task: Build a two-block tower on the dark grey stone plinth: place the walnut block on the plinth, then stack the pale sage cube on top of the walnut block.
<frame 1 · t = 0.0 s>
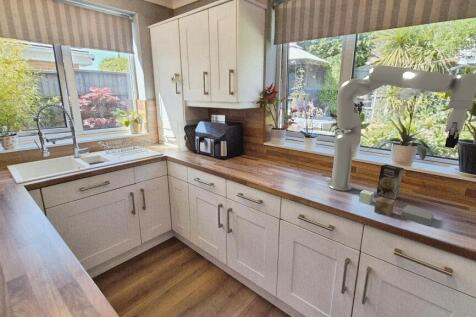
hand: (451, 146, 108), 31 cm above the countertop, fingers open, 9 cm apart
plinth: (416, 217, 111), on the countertop
coffee box: (387, 196, 136), on the countertop
walnut block: (383, 212, 116), on the countertop
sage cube: (365, 201, 127), on the countertop
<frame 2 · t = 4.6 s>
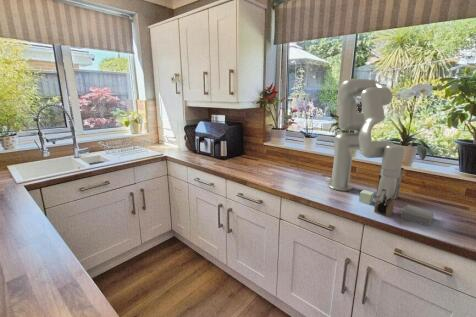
hand: (383, 209, 115), 1 cm above the countertop, fingers closed on walnut block, 6 cm apart
walnut block: (383, 212, 116), on the countertop, touching gripper
everything else where it was.
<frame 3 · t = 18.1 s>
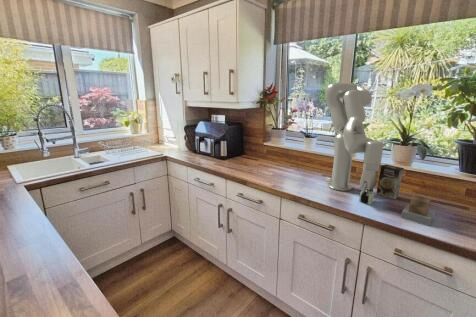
hand: (366, 200, 127), 0 cm above the countertop, fingers closed on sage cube, 5 cm apart
walnut block: (418, 211, 110), point 3 cm above the countertop, touching plinth
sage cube: (365, 201, 127), on the countertop, touching gripper
everything else where it was.
when the fingers open (10 cm above the countertop, at t = 25.3 s): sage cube stays where it is, resting on walnut block.
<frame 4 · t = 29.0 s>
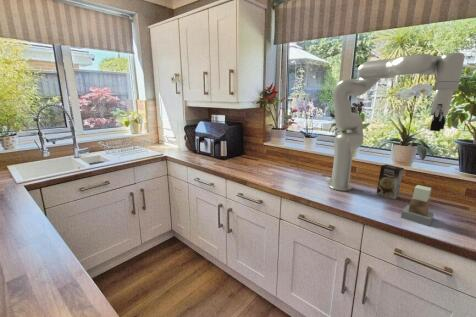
hand: (436, 129, 104), 38 cm above the countertop, fingers open, 9 cm apart
walnut block: (418, 211, 110), point 3 cm above the countertop, touching plinth, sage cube
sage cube: (420, 198, 109), point 9 cm above the countertop, touching walnut block
everything else where it was.
at the end: walnut block inside the target area on the plinth (0.0 cm from its centre), point 3.0 cm above the plinth's base; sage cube inside the target area on the walnut block (0.0 cm from its centre), point 6.0 cm above the walnut block's base; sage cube tilted 0° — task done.
